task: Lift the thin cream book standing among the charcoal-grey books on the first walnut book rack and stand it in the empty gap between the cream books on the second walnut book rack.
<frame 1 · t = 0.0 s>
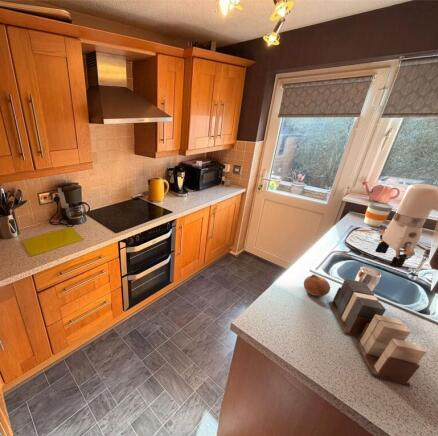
hand: (387, 259, 88), 23 cm above the worktop, tool pointing down, fingers open, 9 cm apart
beer glass: (356, 299, 101), on the worktop
reusable coffee cup: (372, 223, 169), on the worktop
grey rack: (350, 321, 90), on the worktop
cream book: (352, 321, 89), point 1 cm above the worktop, touching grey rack
onion: (313, 293, 104), on the worktop
cream rack: (377, 357, 77), on the worktop
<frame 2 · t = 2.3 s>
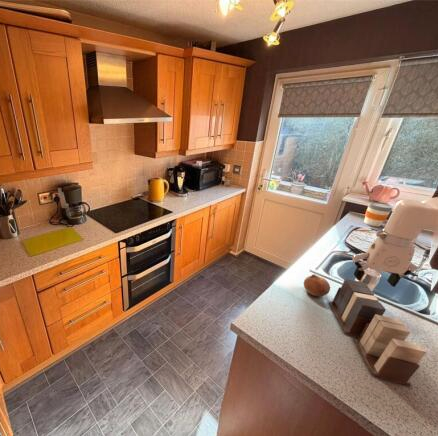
hand: (373, 280, 80), 21 cm above the worktop, tool pointing down, fingers open, 9 cm apart
nothing on the worktop moved.
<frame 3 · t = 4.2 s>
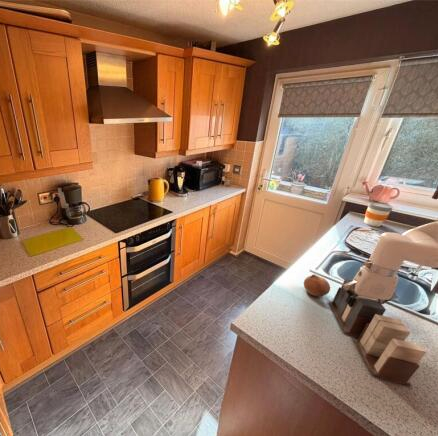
hand: (360, 306, 85), 9 cm above the worktop, tool pointing down, fingers closed on cream book, 6 cm apart
cream book: (352, 321, 89), point 1 cm above the worktop, touching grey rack, gripper
everything else where it was.
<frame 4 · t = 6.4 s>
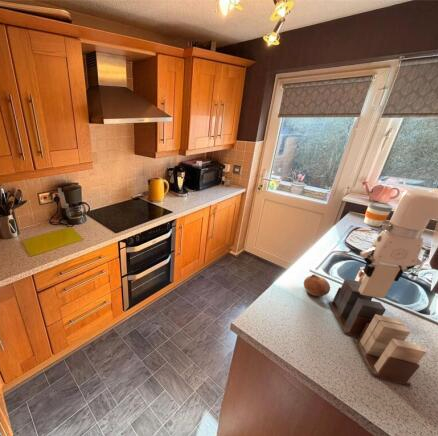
hand: (380, 276, 79), 24 cm above the worktop, tool pointing down, fingers closed on cream book, 6 cm apart
cream book: (370, 294, 82), point 16 cm above the worktop, touching gripper
everything else where it was.
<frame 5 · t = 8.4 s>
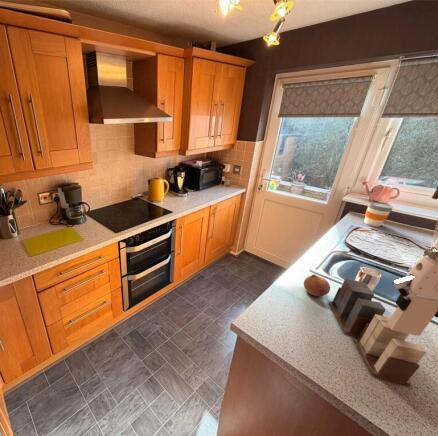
hand: (416, 309, 65), 24 cm above the worktop, tool pointing down, fingers closed on cream book, 6 cm apart
cream book: (402, 329, 69), point 16 cm above the worktop, touching gripper
everything else where it was.
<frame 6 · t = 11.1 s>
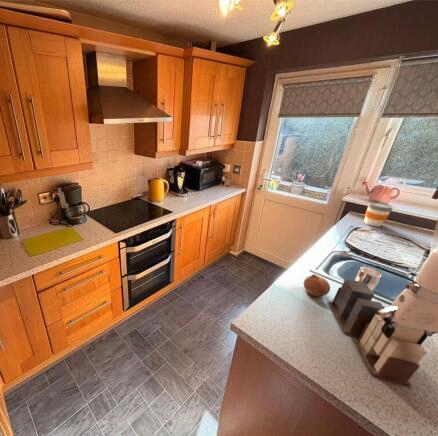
hand: (400, 337, 69), 13 cm above the worktop, tool pointing down, fingers closed on cream book, 6 cm apart
cream book: (387, 354, 73), point 5 cm above the worktop, touching gripper
everything else where it was.
when the fingers open (9 cm above the worktop, at t = 12.9 s): cream book stays where it is, resting on cream rack.
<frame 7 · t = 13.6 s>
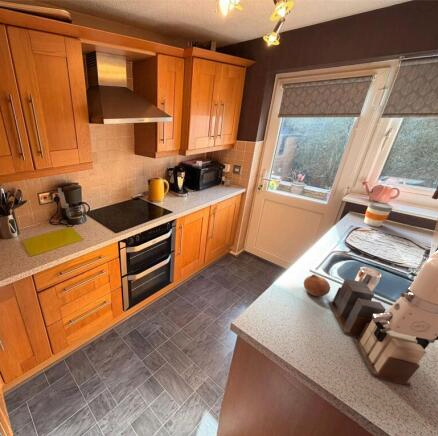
hand: (397, 342, 70), 11 cm above the worktop, tool pointing down, fingers open, 9 cm apart
cream book: (382, 362, 74), point 1 cm above the worktop, touching cream rack
everything else where it was.
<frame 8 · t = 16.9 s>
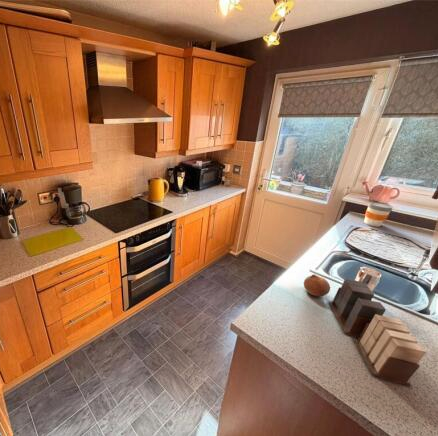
nothing on the worktop moved.
at the end: cream book 0.1 cm from the target spot on the cream rack, point 1.0 cm above the cream rack's base; cream book tilted 0°; the gripper is holding nothing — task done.
